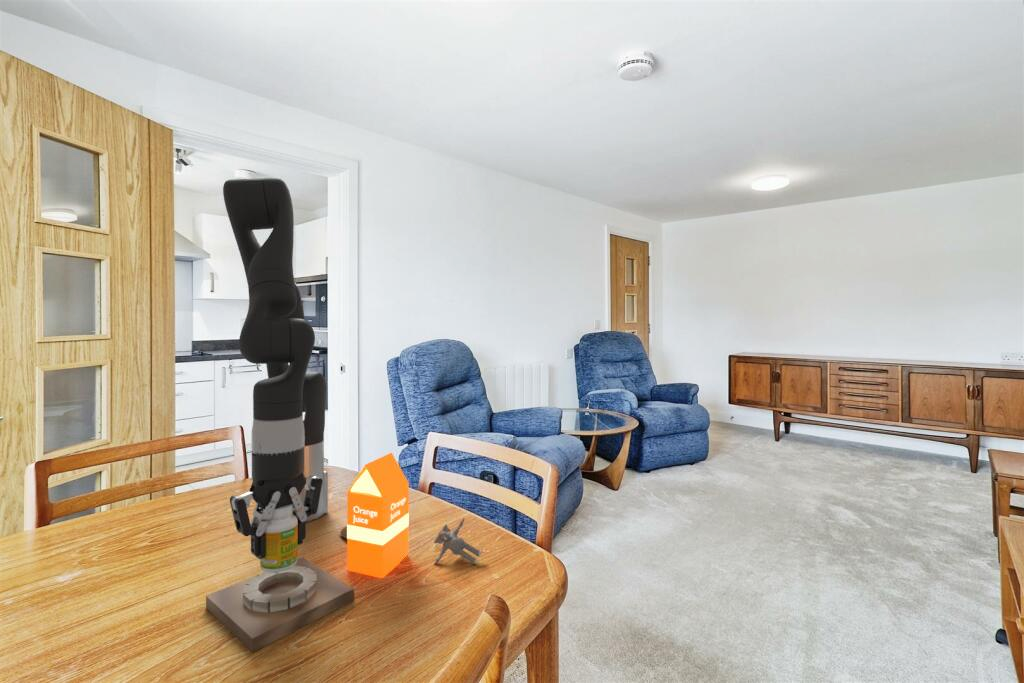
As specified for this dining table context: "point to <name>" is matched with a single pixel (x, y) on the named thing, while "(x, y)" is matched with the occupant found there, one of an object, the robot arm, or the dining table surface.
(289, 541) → the supplement bottle
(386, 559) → the orange juice
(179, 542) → the dining table surface
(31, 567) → the dining table surface
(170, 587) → the dining table surface
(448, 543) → the grey plastic figure
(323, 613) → the stone ring base
